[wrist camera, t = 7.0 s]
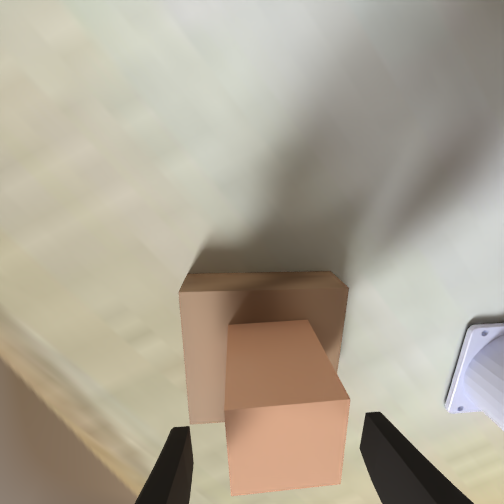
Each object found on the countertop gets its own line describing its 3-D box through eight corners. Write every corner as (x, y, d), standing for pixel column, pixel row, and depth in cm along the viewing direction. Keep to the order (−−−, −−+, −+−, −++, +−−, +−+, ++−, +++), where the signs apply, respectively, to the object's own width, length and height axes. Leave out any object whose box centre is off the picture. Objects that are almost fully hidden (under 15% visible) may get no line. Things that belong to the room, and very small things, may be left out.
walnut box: (327, 268, 16) (348, 287, 13) (315, 377, 18) (331, 414, 15) (188, 270, 15) (178, 292, 12) (196, 384, 17) (189, 424, 15)
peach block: (307, 319, 13) (350, 399, 8) (305, 382, 14) (340, 484, 10) (228, 324, 13) (224, 410, 8) (232, 389, 14) (231, 496, 9)
